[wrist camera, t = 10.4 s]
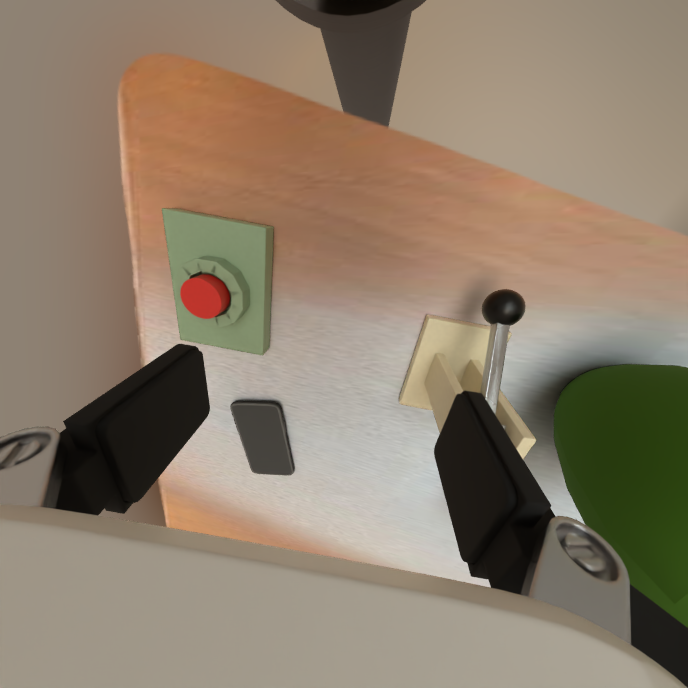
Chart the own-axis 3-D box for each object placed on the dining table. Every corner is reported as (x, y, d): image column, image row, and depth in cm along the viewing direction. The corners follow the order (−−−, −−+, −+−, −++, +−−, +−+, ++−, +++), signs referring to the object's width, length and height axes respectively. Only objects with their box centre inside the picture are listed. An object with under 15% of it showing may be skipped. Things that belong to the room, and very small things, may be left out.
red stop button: (189, 270, 25) (177, 274, 24) (229, 278, 25) (220, 282, 24) (193, 309, 27) (182, 314, 26) (230, 316, 27) (222, 322, 26)
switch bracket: (426, 314, 29) (462, 380, 17) (507, 329, 29) (595, 405, 17) (398, 398, 34) (412, 490, 23) (466, 411, 34) (512, 510, 23)
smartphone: (251, 474, 43) (227, 403, 36) (253, 469, 44) (230, 399, 37) (295, 476, 42) (279, 404, 35) (296, 471, 43) (281, 399, 36)
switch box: (176, 208, 26) (146, 207, 23) (273, 226, 26) (258, 228, 23) (191, 332, 33) (169, 346, 29) (269, 347, 33) (257, 363, 29)
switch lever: (477, 291, 24) (498, 281, 21) (511, 297, 24) (537, 288, 21) (452, 443, 23) (470, 456, 20) (488, 450, 23) (511, 464, 20)
